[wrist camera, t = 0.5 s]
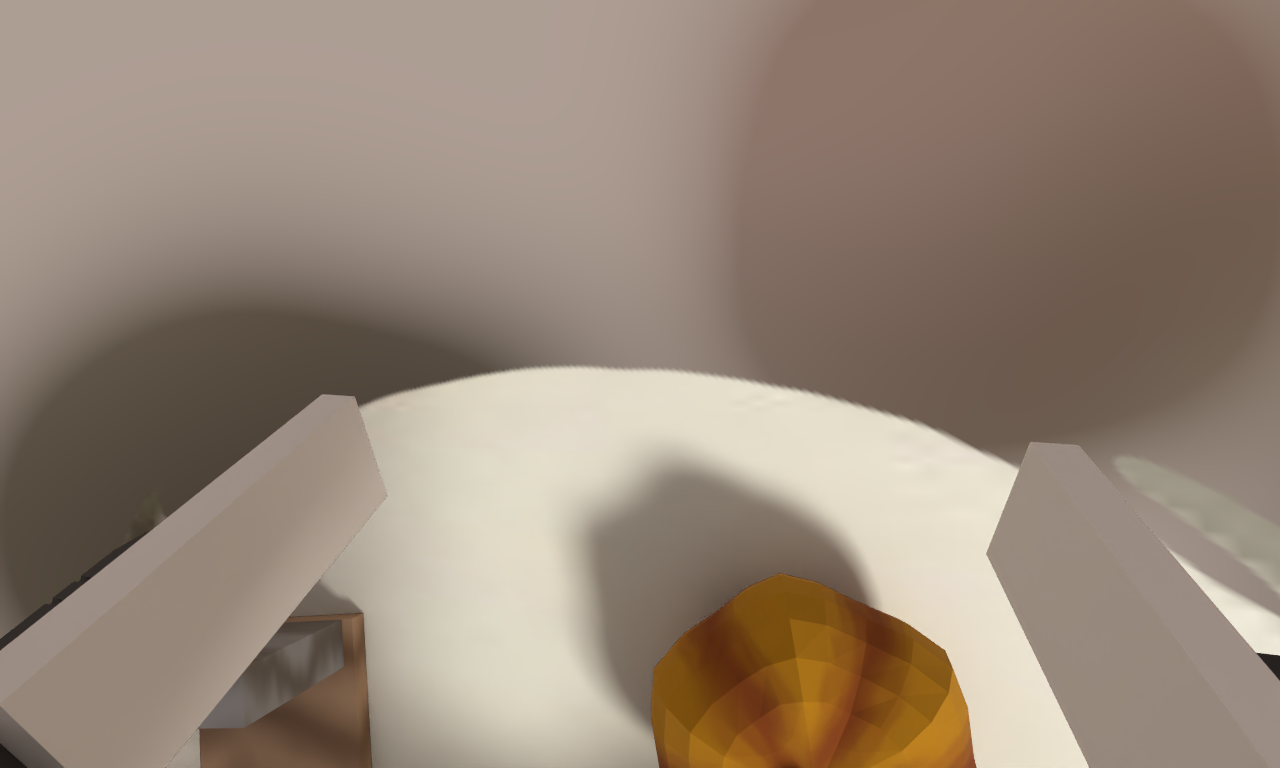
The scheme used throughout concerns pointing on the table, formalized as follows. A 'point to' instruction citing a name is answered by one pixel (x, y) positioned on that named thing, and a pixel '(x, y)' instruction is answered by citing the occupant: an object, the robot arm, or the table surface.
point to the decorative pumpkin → (807, 687)
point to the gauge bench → (296, 701)
